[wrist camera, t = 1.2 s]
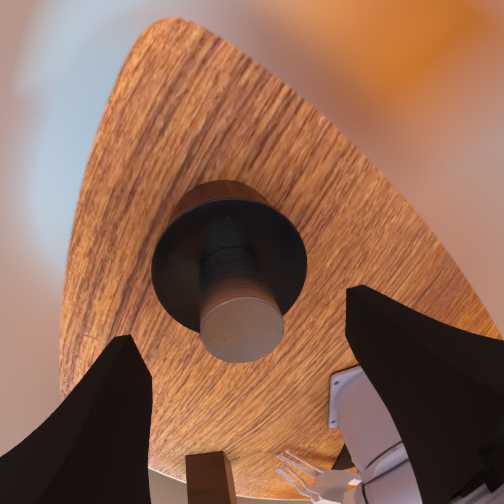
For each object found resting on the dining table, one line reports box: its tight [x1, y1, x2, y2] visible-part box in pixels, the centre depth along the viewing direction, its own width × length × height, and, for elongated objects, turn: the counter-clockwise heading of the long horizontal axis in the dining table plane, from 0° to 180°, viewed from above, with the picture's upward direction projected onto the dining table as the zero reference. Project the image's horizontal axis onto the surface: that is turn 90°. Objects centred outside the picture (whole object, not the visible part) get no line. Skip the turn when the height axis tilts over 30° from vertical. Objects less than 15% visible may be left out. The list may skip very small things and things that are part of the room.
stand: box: [185, 451, 237, 504], centre depth 25 cm, size 4×4×10 cm
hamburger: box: [332, 444, 355, 470], centre depth 32 cm, size 12×12×6 cm
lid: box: [151, 195, 307, 363], centre depth 12 cm, size 7×7×5 cm
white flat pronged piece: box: [273, 448, 362, 504], centre depth 31 cm, size 2×11×18 cm
